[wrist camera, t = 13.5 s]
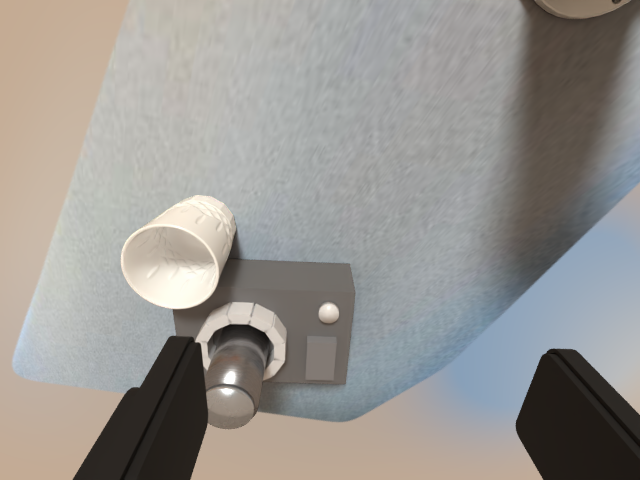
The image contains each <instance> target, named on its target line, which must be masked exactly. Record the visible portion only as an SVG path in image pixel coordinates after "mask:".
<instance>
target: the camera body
mask: <svg viewBox="0 0 640 480" xmlns="http://www.w3.org/2000/svg"><path fill="white" fill-rule="evenodd" d="M354 301H355V288H354V282H353V277H352V272H351V267H350V264H341V263H316V262H291V261H267V260H242V259H227V261H226V264H225V266H224V269H223V271H222V274H221V276H220V279H219V281H218V284H217V287H216V289H215V290H214V292H213V293H212V295H211V296H210V297H209V298H208V299H207V300H206V301H204V302H203V303H201V304H199V305H197V306H194V307H191V308H186V309H173V315H174V322H175V329H176V336H190V337H193V338H194V340H195V342H199V343H201V348H202V358H203V367H204V377H205V375H206V373H207V370H208V367H209V365H210V362H211V359H212V357H213V354H214V351H215V349H216V346H217V343H218V341H219V338H220V335H221V333H222V330H223V328H224V326H227V325H229V324H249V325H251V326H253V327H255V328H257V329H259V330H261V331H263V332H265V333H266V335H267V336H268V337H269V339H270V343H269V349H268V354H267V360H266V366H265V372H264V377H263V382H288V383H322V384H346V375H347V366H348V356H349V347H350V338H351V329H352V319H353V310H354Z"/></svg>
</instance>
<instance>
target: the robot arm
mask: <svg viewBox="0 0 640 480" xmlns="http://www.w3.org/2000/svg"><path fill="white" fill-rule="evenodd" d="M534 1H535V2H536V4H538V5H539V6H540V7H541V8H543V9H544V10H545V11H546V12H548V13H551V14H553V15H555V16H557V17H561V18H566V19H586V18H590V17H595V16H600V15H602V14H605V13H608V12H611V11H613V10H615V9H617V8H619V7H621V6H622V5H624V4H626V3H628V2H629V1H631V0H534ZM207 423H208V405H207V396H206V386H205V377H204V367H203V358H202V348H201V343H199V342H195V340H194V338H193V337H190V336H170V337H169V338H168V340H167V342H166V343H165V345H164V347H163V349H162V350H161V352H160V354H159V355H158V357H157V359H156V361H155V362H154V364H153V366H152V368H151V369H150V371H149V373H148V375H147V376H146V378H145V380H144V381H143V383H142V385H141V387H140V388H138V387H134V388H131V389H129V390H128V391H127V392H126V394H125V395H124V397H123V398H122V400H121V401H120V403H119V405H118V406H117V408H116V410H115V411H114V413H113V414H112V416H111V418H110V420H109V421H108V423H107V424H106V426H105V428H104V429H103V431H102V432H101V435H100V436H99V437H98V439H97V441H96V442H95V444H94V445H93V447H92V449H91V451H90V452H89V454H88V455H87V457H86V459H85V460H84V462H83V464H82V465H81V467H80V468H79V470H78V472H77V473H76V475H75V477H74V478H73V480H190V479H191V475H192V472H193V469H194V466H195V463H196V459H197V456H198V453H199V450H200V447H201V444H202V441H203V438H204V434H205V431H206V428H207ZM516 431H517V434H518V436H519V438H520V440H521V442H522V443H523V445H524V447H525V449H526V450H527V452H528V454H529V456H530V457H531V459H532V461H533V463H534V464H535V466H536V468H537V469H538V471H539V473H540V475H541V476H542V478H543V480H640V415H639V414H638V413H637V412H636V411H635V410H634V409H633V408H632V407H631V406H630V405H629V403H628V402H627V401H626V400H625V399H624V398H623V397H622V396H621V395H620V394H619V393H617V391H616V390H615V389H614V388H613V387H612V386H611V385H610V384H609V383H608V382H607V381H606V380H605V379H604V378H603V377H602V376H601V375H600V374H599V373H598V372H597V371H596V370H595V369H594V368H593V367H592V366H591V365H590V364H589V363H588V362H587V361H586V360H585V359H584V358H583V357H582V355H581V354H579V353H578V352H577V351H576V350H573V349H550V350H548V351H547V353H546V354H544V355H542V357H541V359H540V361H539V364H538V366H537V369H536V372H535V374H534V377H533V380H532V382H531V384H530V387H529V390H528V392H527V395H526V397H525V400H524V402H523V405H522V408H521V410H520V413H519V415H518V418H517V420H516Z"/></svg>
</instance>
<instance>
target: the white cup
mask: <svg viewBox="0 0 640 480" xmlns="http://www.w3.org/2000/svg"><path fill="white" fill-rule="evenodd" d="M235 232H236V225H235V220H234V216H233V214H232V213H231V212H230V210H229V209H228V208H227V206H226V205H225V204H224V203H222V202H220V201H218V200H217V199H215V198H213V197H211V196H201V195H195V196H192V197H190V198H187V199H184V200H182V201H181V202H180V203H178V204H176V205H174V206H173V207H171V208H169V209H168V210H167V211H165V212H163V213H162V214H160V215H159V216H157V217H156V218H154V219H153V220H152V221H150V222H149V223H147V224H146V225H145V226H143V227H142V228H140V229H139V230H137V231H136V232H135V233H133V234H132V235H131V236H130V237H129V238H128V240H127V241H126V243H125V244H124V247H123V249H122V253H121V267H122V271H123V274H124V276H125V278H126V280H127V282H128V283H129V285H130V286H131V287H132V289H133V290H134V291H135V292H136V293H137V294H138V295H140V296H141V297H142V298H144V299H145V300H147V301H149V302H150V303H152V304H155V305H157V306H160V307H164V308H169V309H186V308H191V307H194V306H197V305H199V304H201V303H203V302H204V301H206V300H207V299H208V298H209V297H210V296H211V295H212V293H213V292H214V290H215V289H216V287H217V284H218V281H219V279H220V276H221V274H222V271H223V269H224V266H225V264H226V261H227V259H228V256H229V253H230V250H231V247H232V242H233V239H234V235H235Z"/></svg>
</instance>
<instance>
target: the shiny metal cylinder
mask: <svg viewBox="0 0 640 480" xmlns="http://www.w3.org/2000/svg"><path fill="white" fill-rule="evenodd" d="M269 343H270V339H269V337H268V336H267V335H266V333H265V332H263V331H261V330H259V329H257V328H255V327H253V326H251V325H249V324H229V325H227V326H224V328H223V330H222V333H221V335H220V338H219V341H218V343H217V346H216V349H215V351H214V354H213V357H212V359H211V362H210V365H209V367H208V370H207V373H206V375H205V386H206V396H207V405H208V423H209V424H210V425H212V426H215V427H218V428H222V429H235V428H239V427H242V426H244V425H245V424H247V423H248V422H249V421H250V420H251V418H252V417H254V415H255V414H256V412H257V410H258V406H259V400H260V394H261V389H262V383H263V377H264V372H265V366H266V360H267V354H268V349H269Z"/></svg>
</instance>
